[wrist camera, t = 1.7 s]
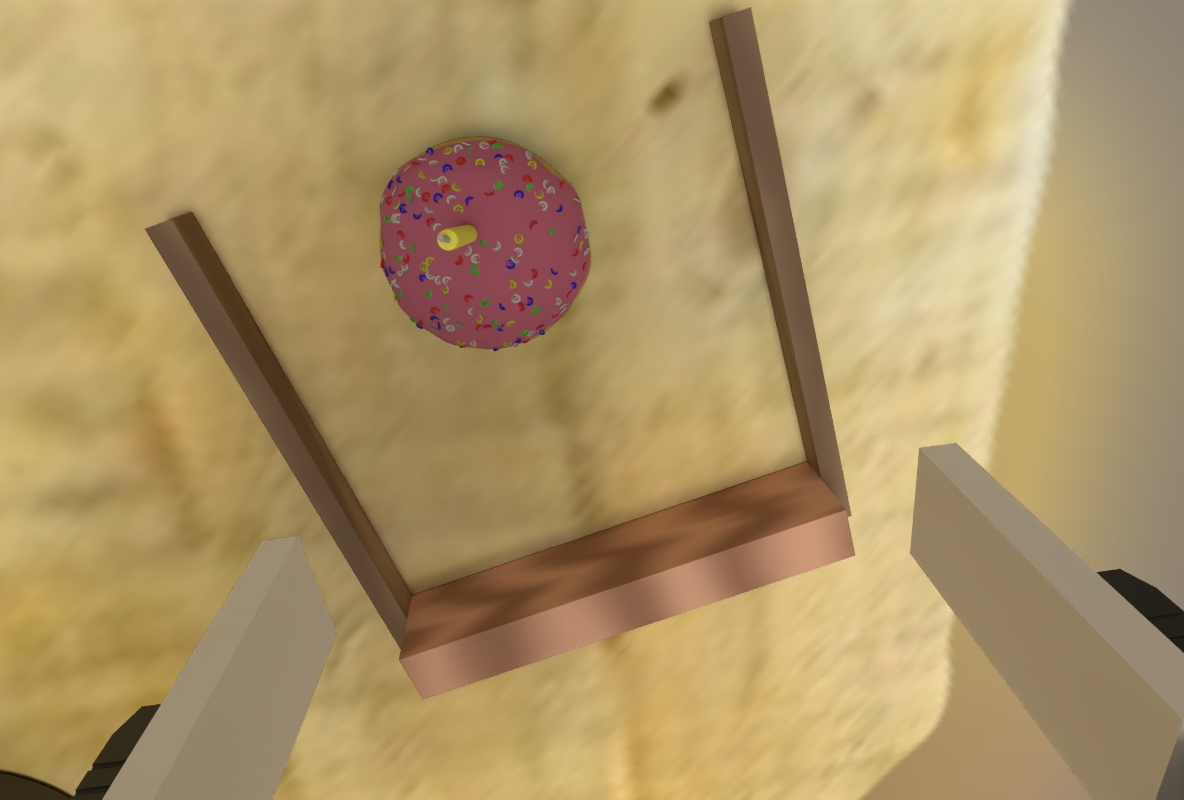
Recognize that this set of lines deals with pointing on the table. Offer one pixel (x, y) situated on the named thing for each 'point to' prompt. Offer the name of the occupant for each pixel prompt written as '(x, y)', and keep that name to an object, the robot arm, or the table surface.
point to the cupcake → (483, 242)
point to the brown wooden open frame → (608, 558)
